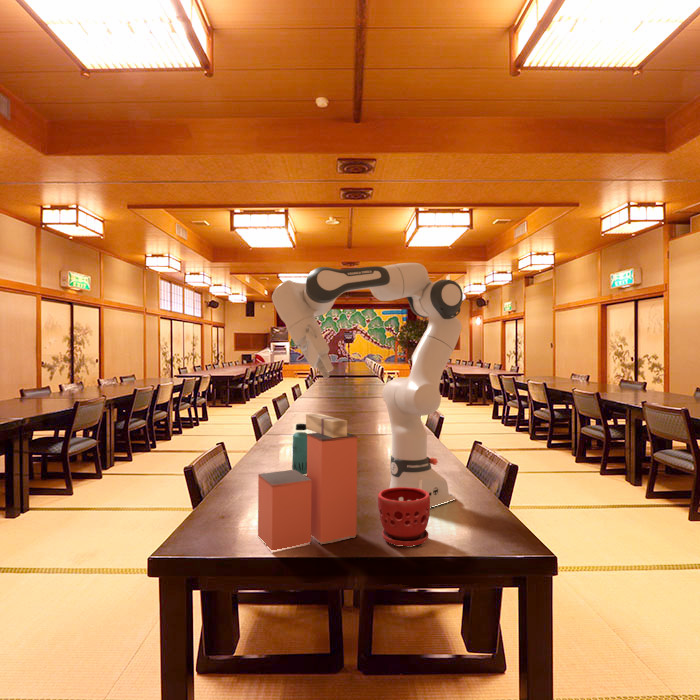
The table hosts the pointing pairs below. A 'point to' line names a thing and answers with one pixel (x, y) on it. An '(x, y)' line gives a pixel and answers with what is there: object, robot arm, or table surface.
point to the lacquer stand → (311, 496)
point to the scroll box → (326, 425)
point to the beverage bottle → (300, 450)
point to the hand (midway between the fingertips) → (329, 374)
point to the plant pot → (404, 515)
